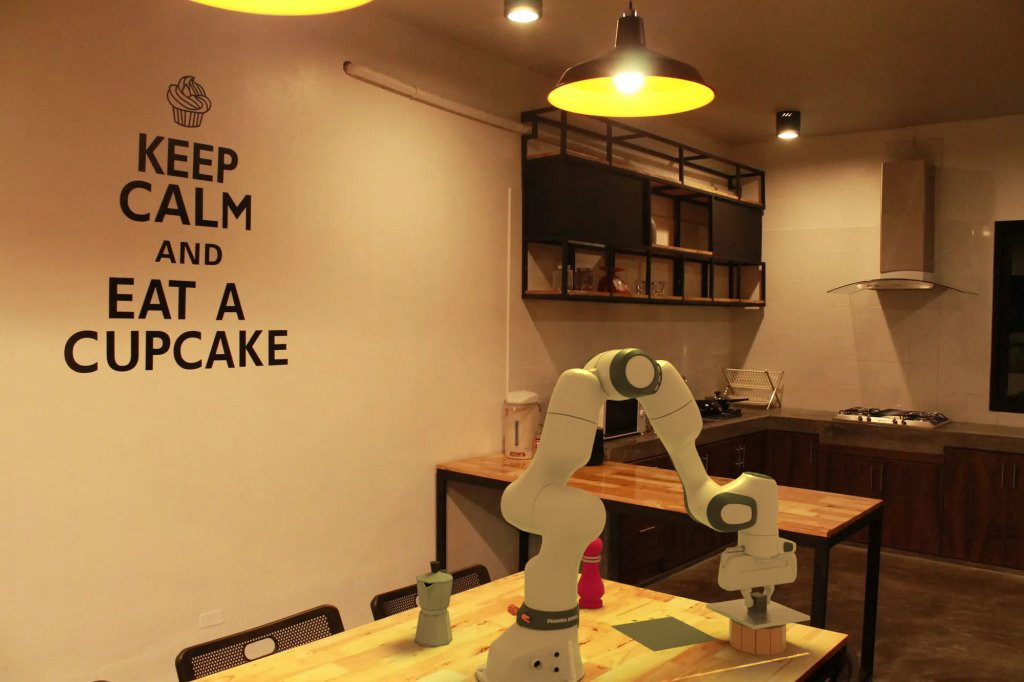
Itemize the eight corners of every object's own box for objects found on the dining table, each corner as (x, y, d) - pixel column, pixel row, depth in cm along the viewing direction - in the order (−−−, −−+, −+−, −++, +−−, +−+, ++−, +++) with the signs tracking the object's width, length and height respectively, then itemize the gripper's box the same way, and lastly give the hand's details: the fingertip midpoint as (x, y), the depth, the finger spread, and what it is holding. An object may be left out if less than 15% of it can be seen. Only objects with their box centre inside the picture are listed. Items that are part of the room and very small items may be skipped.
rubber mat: (653, 653, 185) (653, 651, 185) (610, 628, 201) (610, 626, 201) (718, 641, 193) (718, 639, 193) (671, 618, 209) (671, 616, 209)
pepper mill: (582, 612, 213) (583, 533, 213) (572, 603, 220) (573, 527, 220) (608, 610, 215) (609, 532, 215) (598, 601, 222) (599, 526, 222)
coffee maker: (444, 651, 184) (445, 570, 184) (406, 648, 186) (407, 567, 186) (462, 629, 199) (462, 553, 199) (426, 626, 201) (427, 551, 201)
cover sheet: (753, 629, 179) (754, 609, 179) (706, 607, 194) (706, 589, 194) (810, 619, 186) (810, 600, 186) (759, 599, 200) (760, 581, 200)
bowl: (754, 659, 182) (755, 632, 182) (718, 641, 193) (719, 615, 193) (796, 651, 187) (797, 624, 187) (759, 634, 198) (759, 609, 198)
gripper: (731, 551, 183) (730, 615, 182) (801, 543, 191) (801, 604, 191) (712, 545, 188) (711, 606, 188) (782, 537, 197) (781, 596, 197)
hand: (757, 605), depth 190 cm, fingers closed on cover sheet, 3 cm apart
